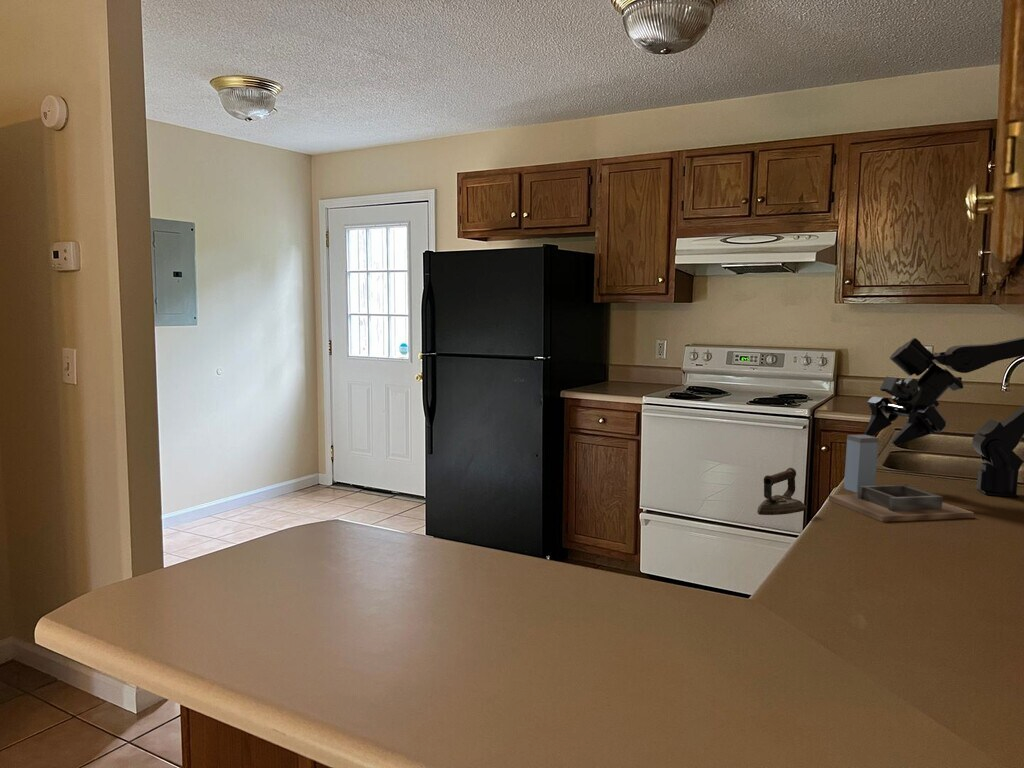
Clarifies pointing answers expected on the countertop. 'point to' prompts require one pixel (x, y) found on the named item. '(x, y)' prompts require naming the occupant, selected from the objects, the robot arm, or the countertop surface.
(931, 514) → the jig cradle
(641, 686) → the countertop surface
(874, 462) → the block
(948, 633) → the countertop surface
